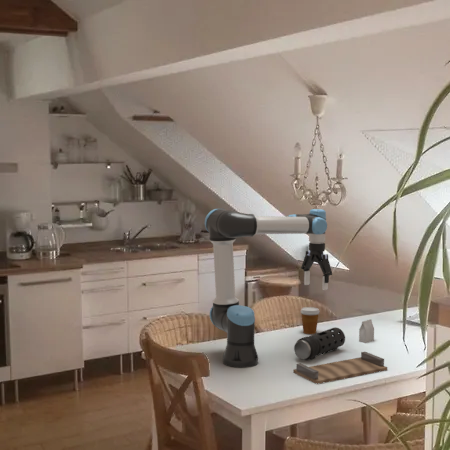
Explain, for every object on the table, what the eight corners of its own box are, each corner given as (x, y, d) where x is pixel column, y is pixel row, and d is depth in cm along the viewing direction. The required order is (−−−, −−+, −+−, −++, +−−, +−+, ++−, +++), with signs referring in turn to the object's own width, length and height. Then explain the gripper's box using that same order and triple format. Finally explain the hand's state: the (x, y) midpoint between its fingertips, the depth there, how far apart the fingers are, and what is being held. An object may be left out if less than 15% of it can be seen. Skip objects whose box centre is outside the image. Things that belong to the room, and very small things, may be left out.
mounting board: (317, 384, 266) (317, 373, 265) (293, 372, 280) (293, 362, 279) (387, 370, 283) (387, 360, 283) (361, 359, 297) (361, 350, 297)
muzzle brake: (345, 351, 311) (346, 328, 310) (310, 365, 290) (311, 341, 289) (327, 346, 317) (328, 325, 316) (292, 360, 296) (292, 337, 295)
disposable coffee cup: (297, 334, 339) (298, 310, 337) (302, 329, 347) (303, 306, 346) (316, 336, 335) (317, 311, 334) (321, 331, 344) (321, 307, 343)
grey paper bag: (373, 340, 328) (374, 320, 327) (365, 343, 323) (366, 322, 322) (367, 338, 331) (367, 318, 330) (359, 341, 326) (359, 320, 325)
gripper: (340, 245, 311) (339, 291, 313) (307, 238, 332) (305, 282, 334) (327, 246, 307) (326, 292, 309) (294, 239, 328) (293, 283, 331)
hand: (315, 287), depth 322 cm, fingers open, 13 cm apart
